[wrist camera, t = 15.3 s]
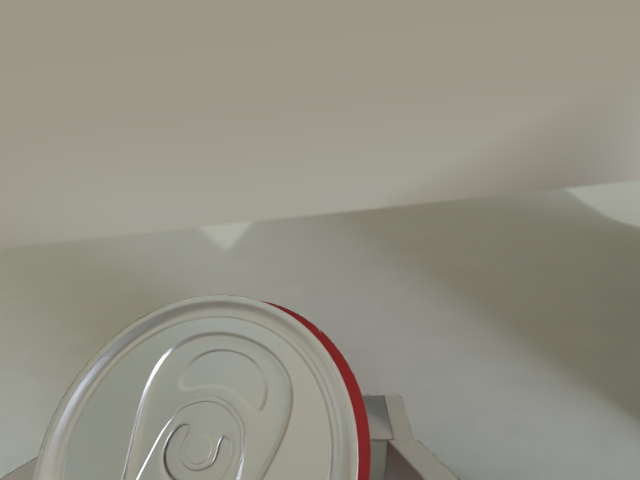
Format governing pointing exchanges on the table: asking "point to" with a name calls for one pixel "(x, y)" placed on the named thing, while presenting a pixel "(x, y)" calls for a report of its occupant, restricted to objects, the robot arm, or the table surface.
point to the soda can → (211, 401)
